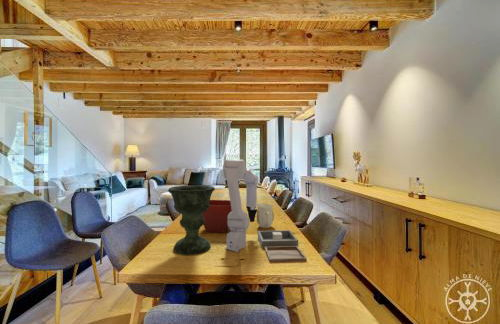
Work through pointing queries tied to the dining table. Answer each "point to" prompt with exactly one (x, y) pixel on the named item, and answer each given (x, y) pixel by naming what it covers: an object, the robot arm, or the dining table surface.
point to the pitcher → (265, 215)
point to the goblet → (191, 216)
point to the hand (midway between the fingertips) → (251, 220)
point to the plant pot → (217, 216)
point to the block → (276, 236)
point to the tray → (284, 254)
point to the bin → (287, 240)
